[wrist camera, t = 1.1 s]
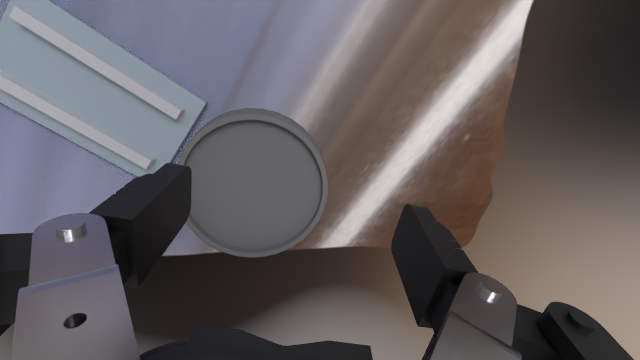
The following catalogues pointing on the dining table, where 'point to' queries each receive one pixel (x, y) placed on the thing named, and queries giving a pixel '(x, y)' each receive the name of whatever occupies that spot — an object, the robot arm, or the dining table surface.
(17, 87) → the mounting board
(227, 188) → the reusable coffee cup
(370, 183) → the dining table surface
